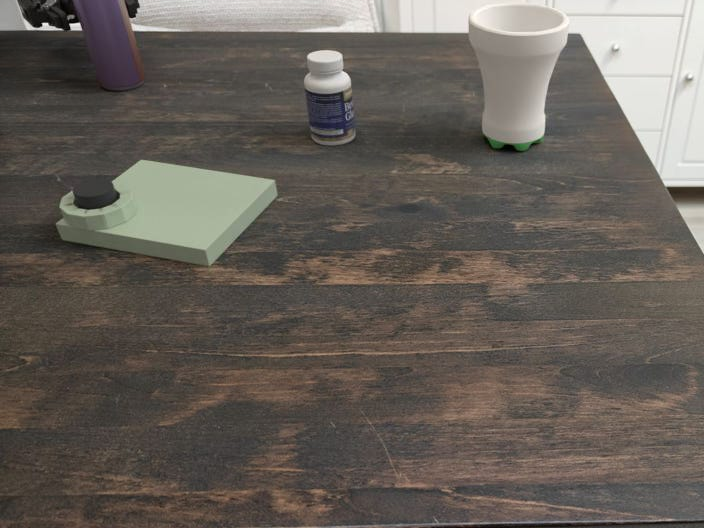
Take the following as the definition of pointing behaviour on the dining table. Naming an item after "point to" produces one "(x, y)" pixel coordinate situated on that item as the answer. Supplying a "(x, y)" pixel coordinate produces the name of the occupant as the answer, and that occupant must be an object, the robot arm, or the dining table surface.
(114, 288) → the dining table surface
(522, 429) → the dining table surface
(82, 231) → the scale
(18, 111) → the dining table surface
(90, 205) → the button
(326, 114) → the pill bottle
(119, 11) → the purple tall cylinder
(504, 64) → the cup
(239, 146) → the dining table surface
